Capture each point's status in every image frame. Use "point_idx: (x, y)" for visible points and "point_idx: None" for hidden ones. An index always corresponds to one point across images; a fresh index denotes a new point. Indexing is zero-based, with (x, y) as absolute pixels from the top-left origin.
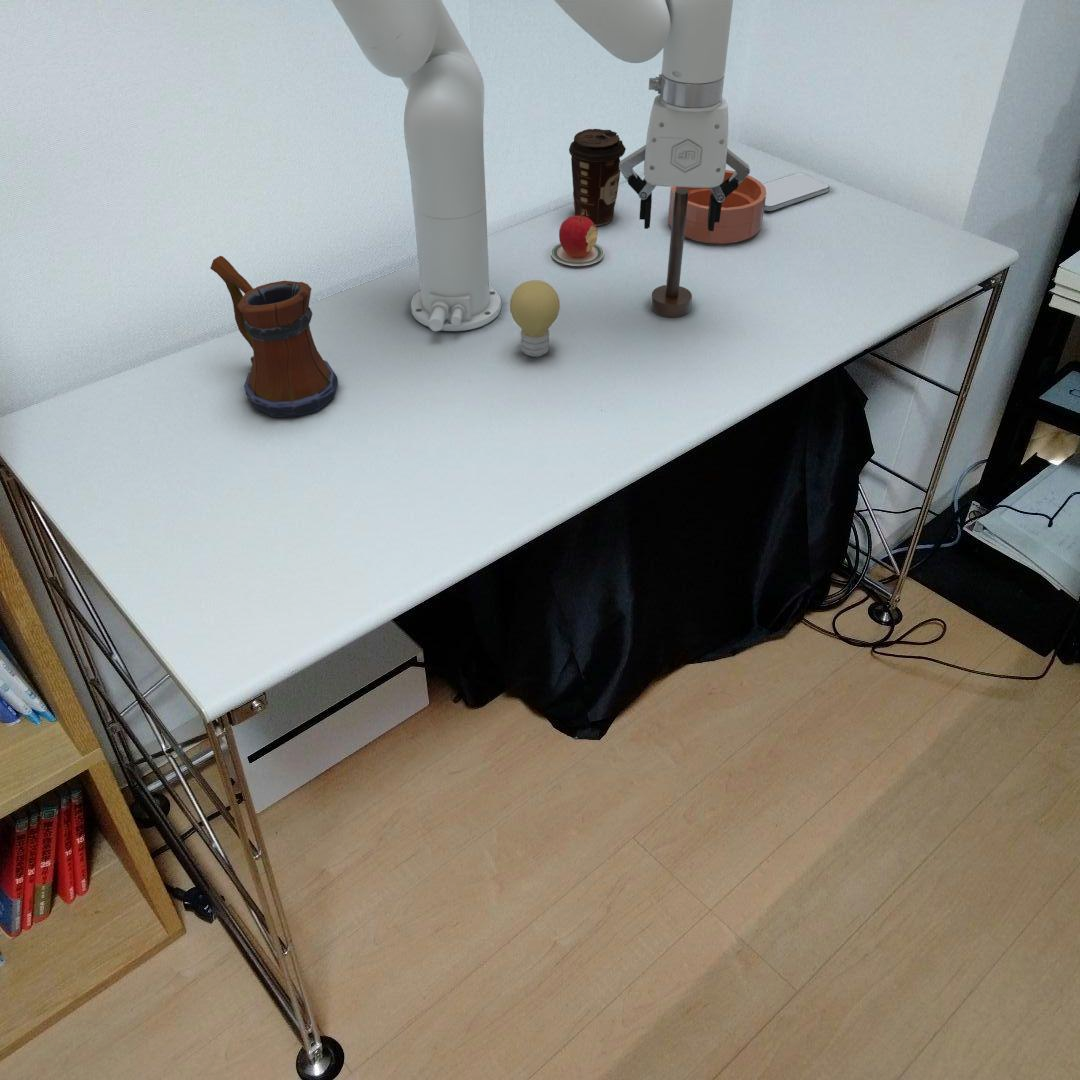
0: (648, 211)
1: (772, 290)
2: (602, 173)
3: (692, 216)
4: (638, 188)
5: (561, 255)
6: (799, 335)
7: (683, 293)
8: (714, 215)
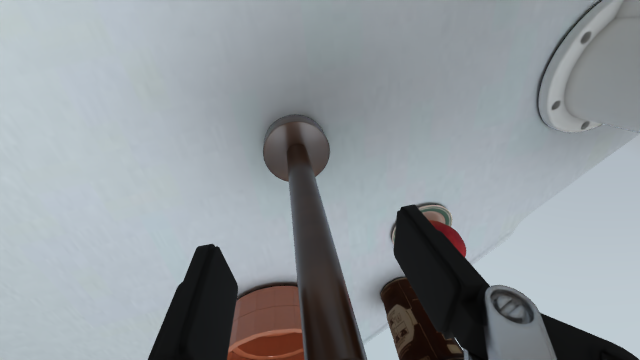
0: (439, 247)
1: (161, 224)
2: (425, 343)
3: (299, 313)
4: (551, 335)
5: (439, 221)
6: (43, 108)
7: (279, 162)
8: (181, 296)
